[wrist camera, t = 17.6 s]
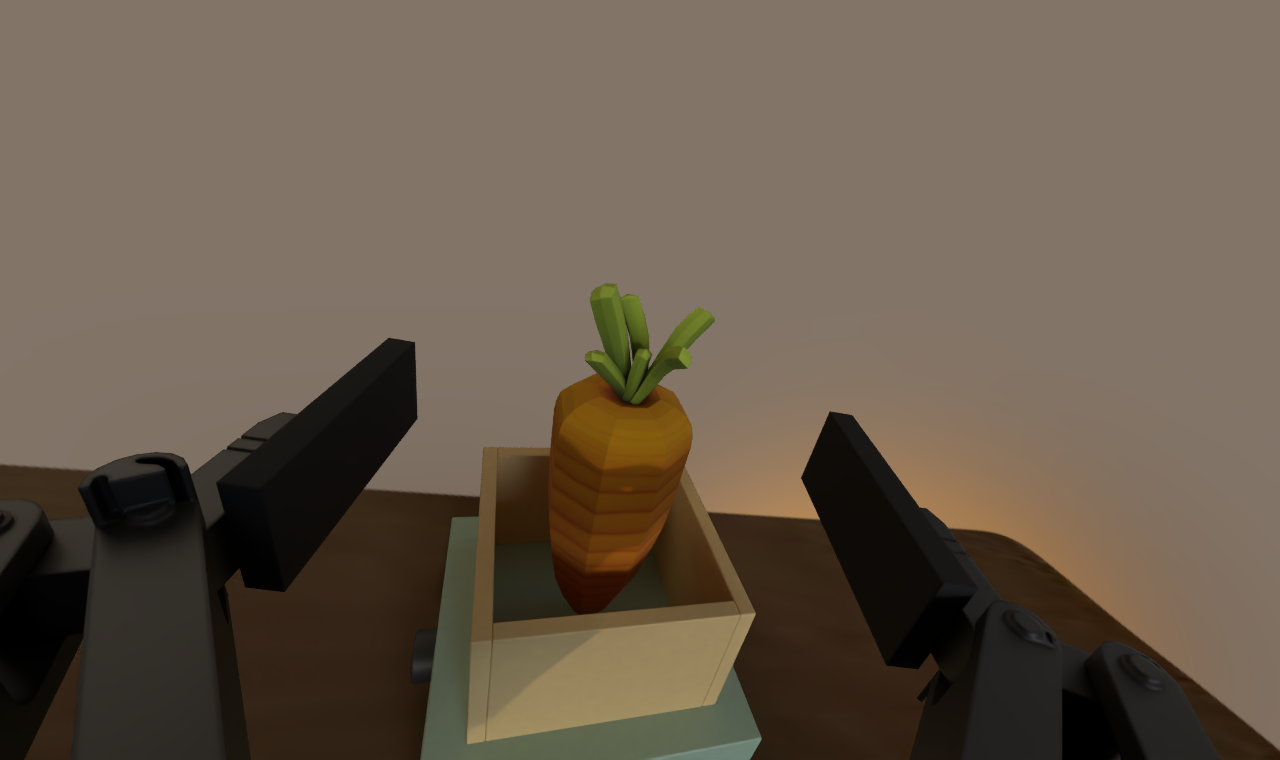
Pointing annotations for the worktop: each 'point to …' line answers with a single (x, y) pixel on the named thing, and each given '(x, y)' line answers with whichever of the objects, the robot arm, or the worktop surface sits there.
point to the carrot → (616, 453)
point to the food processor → (581, 640)
